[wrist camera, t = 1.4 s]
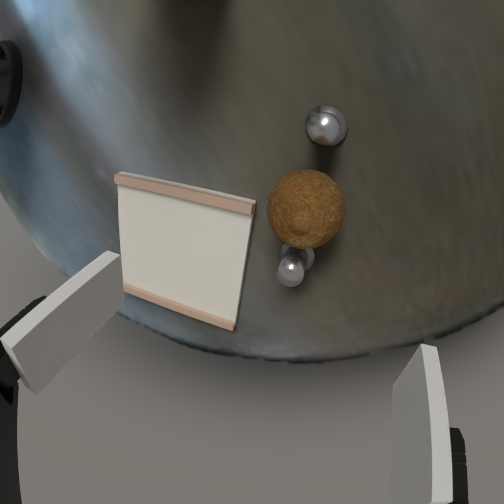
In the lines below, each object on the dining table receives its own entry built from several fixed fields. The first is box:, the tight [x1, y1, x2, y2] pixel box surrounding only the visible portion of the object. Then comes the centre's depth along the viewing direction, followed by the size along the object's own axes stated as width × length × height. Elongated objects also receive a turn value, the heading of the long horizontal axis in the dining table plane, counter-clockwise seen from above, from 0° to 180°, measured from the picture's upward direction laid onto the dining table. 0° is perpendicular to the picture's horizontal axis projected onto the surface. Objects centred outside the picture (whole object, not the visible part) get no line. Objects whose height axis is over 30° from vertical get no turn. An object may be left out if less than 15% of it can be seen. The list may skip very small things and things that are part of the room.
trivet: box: [115, 171, 256, 331], centre depth 35 cm, size 16×16×1 cm
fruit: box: [267, 169, 345, 249], centre depth 25 cm, size 6×6×8 cm
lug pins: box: [277, 105, 348, 287], centre depth 27 cm, size 4×17×4 cm, turn 171°
